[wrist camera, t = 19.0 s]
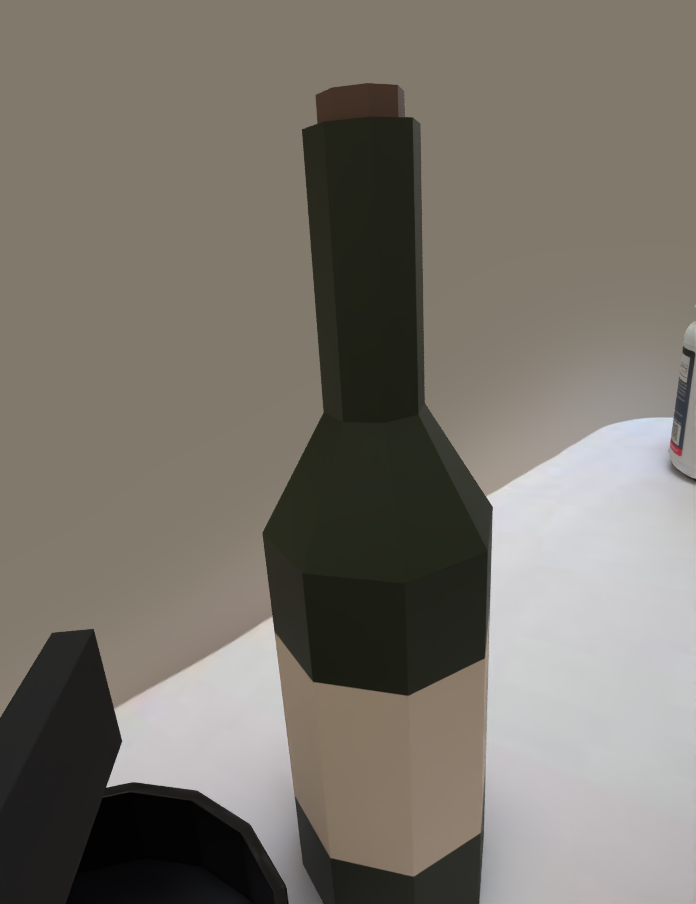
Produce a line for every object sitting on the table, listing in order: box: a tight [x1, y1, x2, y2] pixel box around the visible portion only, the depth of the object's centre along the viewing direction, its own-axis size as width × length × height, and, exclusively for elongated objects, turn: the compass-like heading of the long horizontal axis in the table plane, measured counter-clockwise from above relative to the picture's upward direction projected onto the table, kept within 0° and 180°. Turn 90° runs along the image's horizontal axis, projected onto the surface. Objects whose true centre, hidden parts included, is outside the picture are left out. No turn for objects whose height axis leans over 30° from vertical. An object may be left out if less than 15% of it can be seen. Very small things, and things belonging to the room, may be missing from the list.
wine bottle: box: [263, 83, 493, 904], centre depth 22 cm, size 8×8×30 cm
